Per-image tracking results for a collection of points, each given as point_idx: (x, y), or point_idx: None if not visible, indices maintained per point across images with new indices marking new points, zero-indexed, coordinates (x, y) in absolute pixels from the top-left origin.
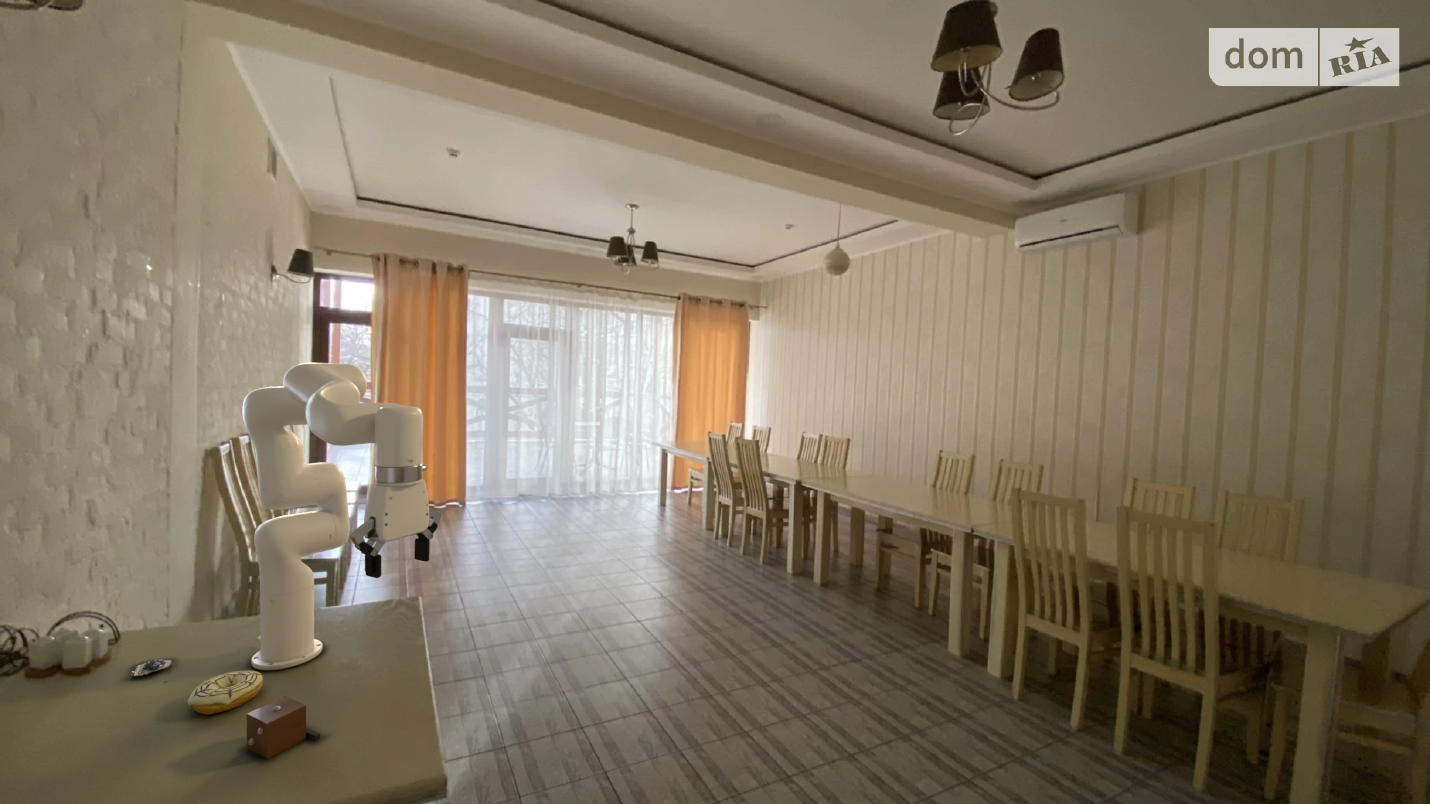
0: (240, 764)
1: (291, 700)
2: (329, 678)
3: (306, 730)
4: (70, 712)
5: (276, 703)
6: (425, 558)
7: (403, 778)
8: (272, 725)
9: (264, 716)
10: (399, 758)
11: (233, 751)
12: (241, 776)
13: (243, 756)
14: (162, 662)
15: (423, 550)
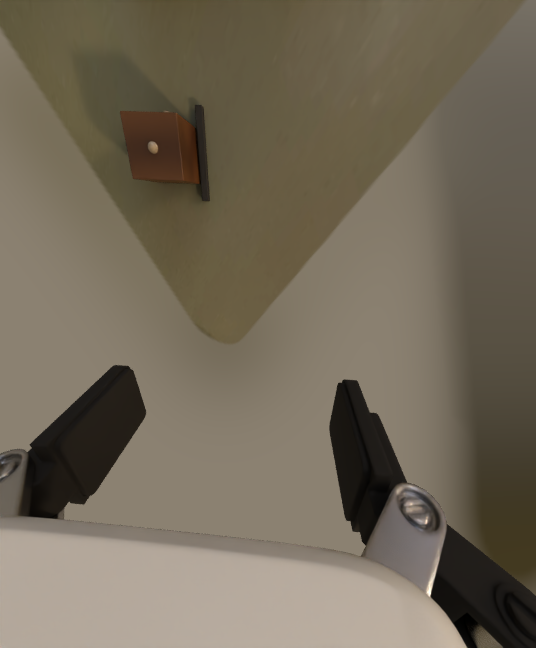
0: None
1: (175, 141)
2: (317, 6)
3: (202, 175)
4: None
5: (158, 126)
6: (331, 437)
7: (218, 333)
8: (142, 179)
9: (135, 152)
10: (232, 310)
11: None
12: (131, 187)
13: None
14: None
15: (338, 462)
